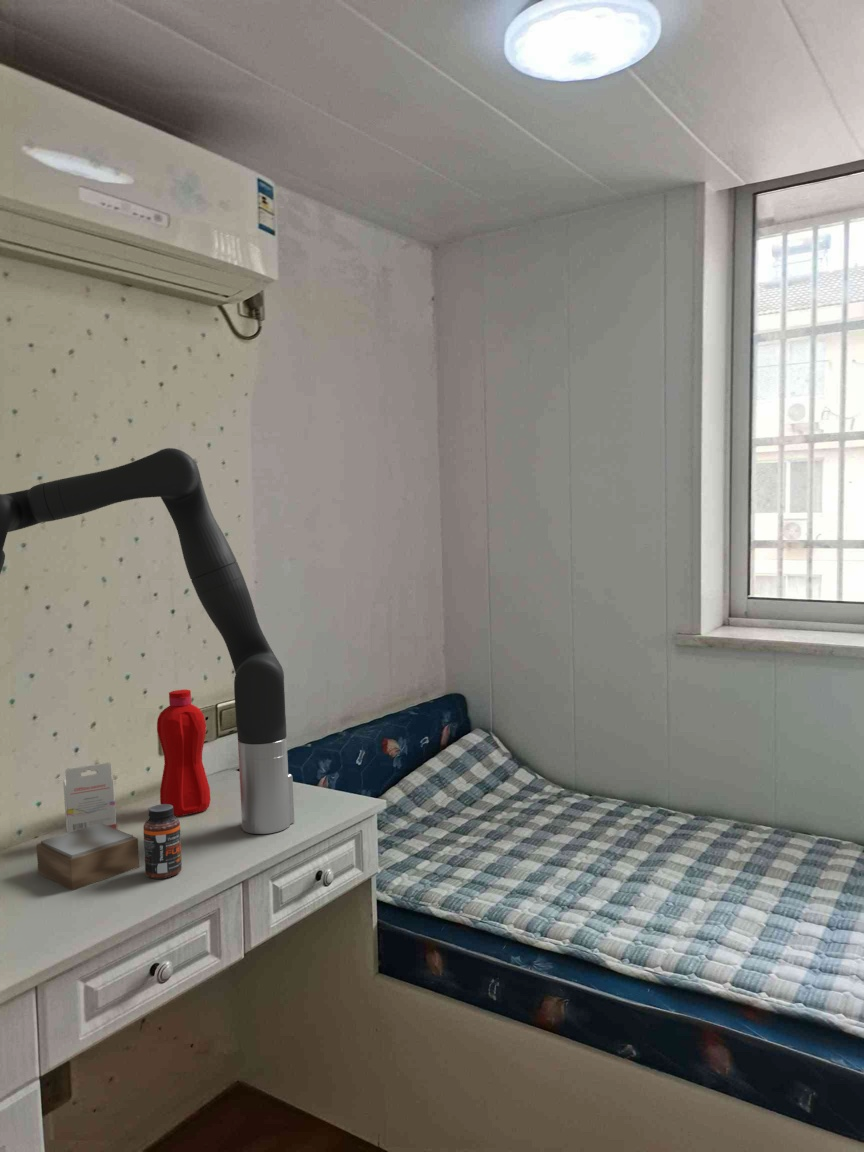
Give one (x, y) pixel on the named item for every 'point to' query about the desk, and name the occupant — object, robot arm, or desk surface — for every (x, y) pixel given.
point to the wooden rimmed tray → (87, 855)
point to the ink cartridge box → (89, 797)
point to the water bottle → (183, 755)
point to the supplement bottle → (162, 842)
